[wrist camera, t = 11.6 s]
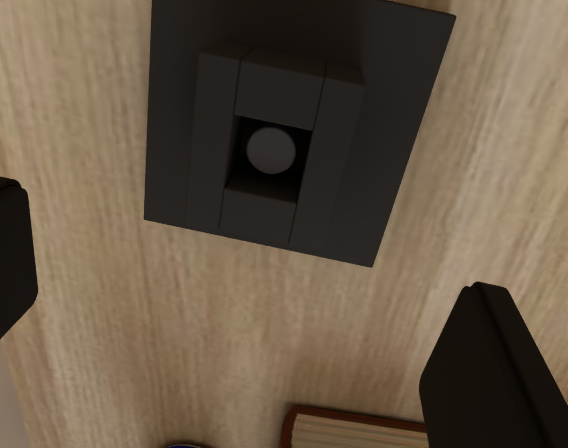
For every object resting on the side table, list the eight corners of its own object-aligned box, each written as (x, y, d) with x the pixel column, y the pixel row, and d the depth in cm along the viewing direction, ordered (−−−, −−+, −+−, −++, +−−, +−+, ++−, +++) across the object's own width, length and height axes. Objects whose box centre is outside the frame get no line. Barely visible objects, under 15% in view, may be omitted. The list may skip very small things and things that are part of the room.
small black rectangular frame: (203, 190, 22) (183, 223, 19) (220, 39, 19) (198, 50, 16) (324, 215, 22) (322, 252, 19) (362, 68, 19) (367, 85, 16)
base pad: (163, -47, 19) (125, -53, 15) (450, 13, 19) (475, 20, 15) (151, 209, 24) (122, 246, 21) (370, 256, 24) (376, 299, 21)
